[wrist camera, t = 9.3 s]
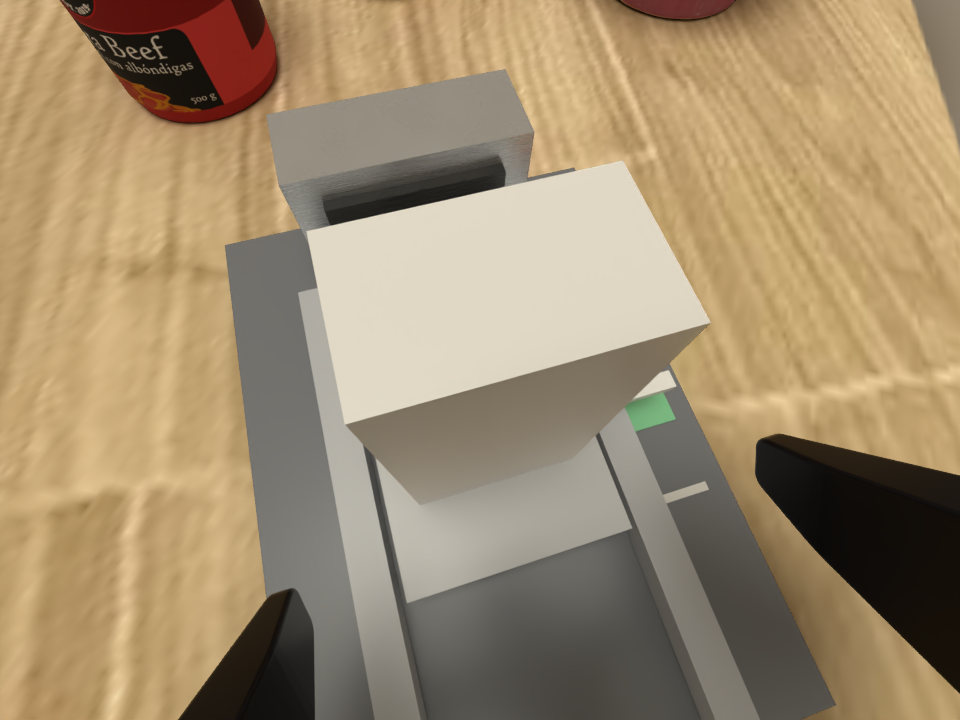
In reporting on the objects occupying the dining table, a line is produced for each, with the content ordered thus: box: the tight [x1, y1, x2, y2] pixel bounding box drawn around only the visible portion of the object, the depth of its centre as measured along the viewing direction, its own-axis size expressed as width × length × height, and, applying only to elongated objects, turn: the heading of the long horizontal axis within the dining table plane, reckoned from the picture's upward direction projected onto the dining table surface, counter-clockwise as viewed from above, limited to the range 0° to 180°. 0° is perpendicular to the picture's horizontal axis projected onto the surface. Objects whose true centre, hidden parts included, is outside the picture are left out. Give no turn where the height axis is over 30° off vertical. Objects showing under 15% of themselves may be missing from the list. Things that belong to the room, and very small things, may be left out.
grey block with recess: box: [266, 69, 534, 244], centre depth 18 cm, size 3×8×6 cm, turn 107°
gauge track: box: [225, 168, 836, 720], centre depth 17 cm, size 22×16×2 cm
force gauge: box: [306, 161, 711, 603], centre depth 12 cm, size 8×10×11 cm
